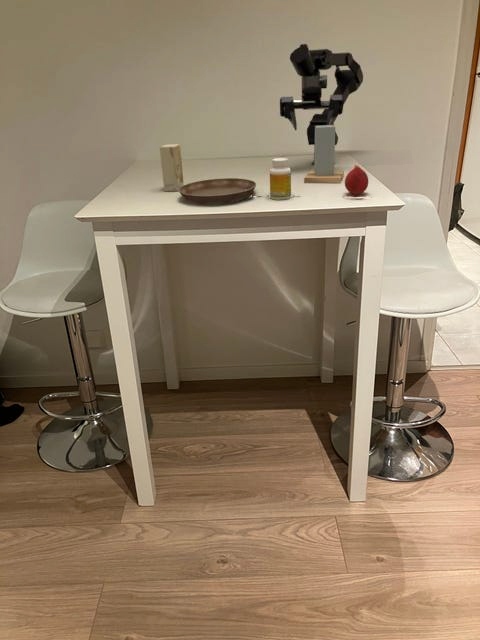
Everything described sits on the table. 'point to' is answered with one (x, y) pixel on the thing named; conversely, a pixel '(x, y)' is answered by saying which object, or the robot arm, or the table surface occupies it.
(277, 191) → the supplement bottle
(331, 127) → the slate block
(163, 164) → the skincare box
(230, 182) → the plant saucer
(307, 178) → the oak top slab
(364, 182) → the onion
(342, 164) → the table surface
